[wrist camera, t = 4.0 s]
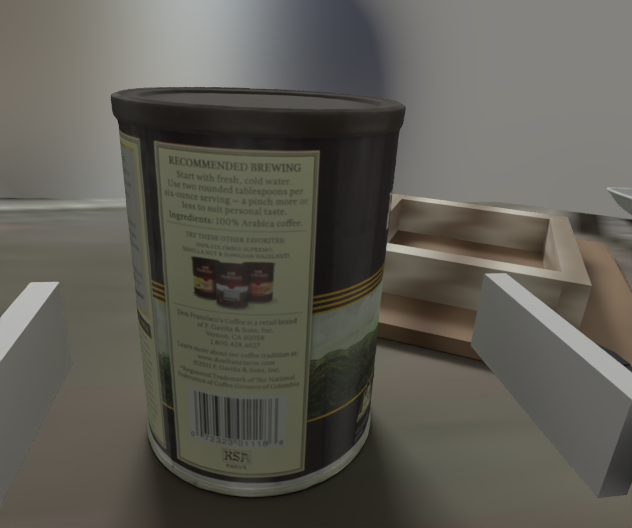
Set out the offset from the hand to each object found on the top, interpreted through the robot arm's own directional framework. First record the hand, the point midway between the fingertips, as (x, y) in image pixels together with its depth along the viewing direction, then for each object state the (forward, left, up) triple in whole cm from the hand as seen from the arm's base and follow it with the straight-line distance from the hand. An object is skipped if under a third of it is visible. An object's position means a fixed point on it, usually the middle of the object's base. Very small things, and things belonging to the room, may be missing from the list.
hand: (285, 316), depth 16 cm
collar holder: (+4, +25, -8) cm, 27 cm away
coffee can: (-3, +4, -8) cm, 10 cm away
